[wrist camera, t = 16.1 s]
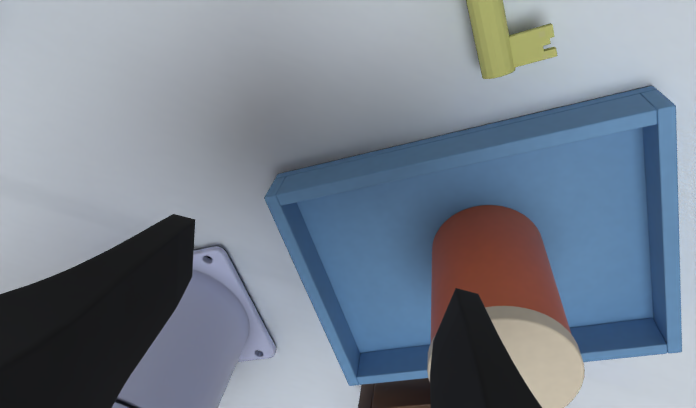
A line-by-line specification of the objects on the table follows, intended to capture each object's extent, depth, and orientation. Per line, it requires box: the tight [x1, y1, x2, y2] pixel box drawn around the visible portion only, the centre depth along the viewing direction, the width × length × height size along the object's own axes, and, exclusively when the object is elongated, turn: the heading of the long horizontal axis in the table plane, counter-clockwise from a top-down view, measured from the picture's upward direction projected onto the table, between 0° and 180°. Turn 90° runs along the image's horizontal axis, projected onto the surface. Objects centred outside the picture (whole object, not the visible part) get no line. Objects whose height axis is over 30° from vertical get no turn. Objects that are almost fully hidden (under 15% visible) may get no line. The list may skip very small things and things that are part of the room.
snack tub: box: [427, 205, 585, 408], centre depth 21 cm, size 5×5×8 cm
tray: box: [264, 86, 682, 386], centre depth 24 cm, size 16×12×2 cm
